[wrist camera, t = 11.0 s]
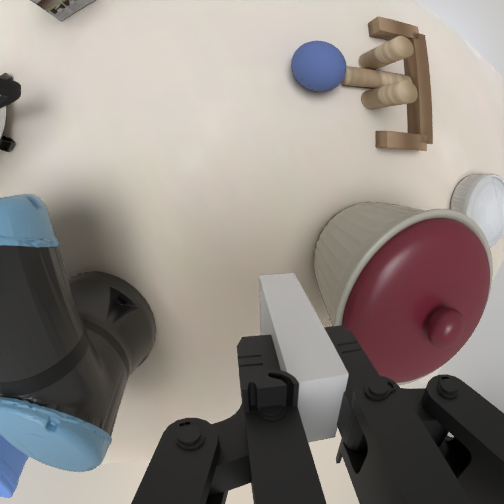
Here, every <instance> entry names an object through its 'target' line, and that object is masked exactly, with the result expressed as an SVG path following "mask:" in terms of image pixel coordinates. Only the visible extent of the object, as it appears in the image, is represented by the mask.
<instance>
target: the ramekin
mask: <svg viewBox="0 0 504 504" xmlns="http://www.w3.org/2000/svg"><path fill="white" fill-rule="evenodd" d="M451 210H454V211H457V212H460V213H462V214H464V215H466V216H468V217H469V218H471V219H472V220H473V221H474V222H475V223H476V224H477V225H478V226H479V227H480V228H481V230H482V231H483V233H484V235H485V237H486V239H487V241H488V244H489V247H492V246H494V245H495V244H496V243H497V242H498V241H499V240H500V239H501V238H502V236H503V235H504V180H503V179H502V178H501V177H500V176H498V175H495V174H484V175H470V176H467V177H465V178H464V179H463V180H462V181H461V182H460V183H459V184H458V185H457V187H456V188H455V190H454V193H453V196H452V200H451Z"/></svg>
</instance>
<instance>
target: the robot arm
mask: <svg viewBox="0 0 504 504" xmlns="http://www.w3.org/2000/svg"><path fill="white" fill-rule="evenodd" d="M58 246H59V241H58V240H57V239H56V238H55V234H54V231H53V228H52V225H51V221H50V218H49V214H48V211H47V208H46V206H45V204H44V202H43V201H42V200H41V199H40V198H39V197H37V196H35V195H31V194H23V195H15V196H9V197H4V198H0V434H1V435H2V436H3V437H4V438H5V439H6V440H7V441H8V442H9V443H10V444H12V445H13V446H14V447H16V448H17V449H18V450H20V451H21V452H23V453H24V454H26V455H28V456H30V457H32V458H33V459H35V460H37V461H39V462H42V463H44V464H46V465H49V466H52V467H55V468H58V469H62V470H67V471H74V472H84V471H89V470H93V469H94V468H96V467H97V466H99V465H100V464H101V463H102V461H103V459H104V457H105V454H106V452H107V449H108V447H109V445H110V444H111V441H112V438H111V435H112V431H113V427H114V424H115V420H116V417H117V413H118V410H119V406H120V403H121V399H122V396H123V393H124V389H125V386H126V383H127V380H128V377H129V375H130V374H131V373H132V372H133V371H134V370H135V369H136V368H137V367H138V366H139V365H141V364H142V363H143V362H144V361H145V359H146V358H147V356H148V355H149V353H150V351H151V348H152V345H153V341H154V338H155V321H154V317H153V314H152V312H151V309H150V307H149V305H148V304H147V302H146V301H145V299H144V298H143V297H142V296H141V294H140V293H139V292H138V291H137V290H136V289H135V288H133V287H132V286H131V285H130V284H128V283H127V282H125V281H124V280H122V279H120V278H118V277H115V276H113V275H110V274H106V273H101V272H87V273H83V274H80V275H77V276H75V277H73V278H72V279H71V280H69V281H68V279H67V276H66V273H65V269H64V266H63V263H62V259H61V256H60V252H59V248H58ZM259 294H260V327H261V334H262V335H260V336H249V337H242V338H241V340H240V342H239V344H238V345H237V353H238V365H239V377H240V387H241V397H242V404H241V407H240V409H239V410H238V411H237V412H236V414H234V415H233V416H232V417H230V418H228V419H226V420H224V421H221V422H218V423H214V424H210V423H209V422H207V421H205V420H202V419H199V418H185V419H181V420H177V421H175V422H174V423H172V424H171V425H169V426H168V427H167V429H166V430H165V431H164V433H163V435H162V437H161V439H160V441H159V444H158V446H157V448H156V450H155V452H154V455H153V457H152V459H151V462H150V463H149V466H148V468H147V470H146V472H145V475H144V477H143V479H142V481H141V483H140V486H139V488H138V490H137V492H136V494H135V497H134V499H133V501H132V503H131V504H225V501H226V498H227V494H228V491H229V490H231V489H234V488H237V487H240V486H243V485H245V484H248V483H251V485H252V493H253V500H254V504H326V501H325V497H324V494H323V491H322V487H321V484H320V481H319V477H318V474H317V470H316V467H315V464H314V460H313V457H312V454H311V451H310V447H309V444H308V442H312V441H317V440H323V439H328V438H333V437H335V434H336V431H337V427H338V429H339V431H340V434H341V437H342V439H341V443H340V446H339V450H338V453H337V457H336V463H340V461H341V458H342V456H343V459H344V462H345V465H346V467H347V470H348V473H349V475H350V478H351V481H352V484H353V486H354V489H355V492H356V495H357V497H358V500H359V503H360V504H504V413H502V412H501V411H500V410H498V409H497V408H496V407H495V406H494V405H492V404H491V403H490V402H489V401H487V400H486V399H485V398H483V397H482V396H481V395H480V394H478V393H477V392H476V391H475V390H473V389H472V388H471V387H469V386H468V385H467V384H465V383H464V382H462V380H460V379H458V378H456V377H454V376H450V375H438V376H435V377H433V378H432V379H431V380H430V381H429V382H428V384H427V387H426V388H425V389H404V388H400V387H399V385H398V384H397V383H396V382H395V381H394V380H391V379H389V378H387V377H384V376H380V375H379V374H378V372H377V370H376V369H375V367H374V366H373V364H372V363H371V361H370V359H369V358H368V356H367V355H366V353H365V352H364V350H362V347H361V345H360V344H359V343H358V341H357V339H356V338H355V336H354V335H353V333H352V332H351V331H349V330H348V329H346V328H345V327H343V326H342V325H339V326H332V327H323V325H322V323H321V321H320V319H319V317H318V315H317V314H316V312H315V310H314V308H313V306H312V304H311V303H310V301H309V299H308V297H307V295H306V293H305V292H304V290H303V288H302V286H301V284H300V283H299V281H298V279H297V277H296V275H295V274H294V273H283V274H271V275H259ZM448 432H450V433H451V434H452V435H453V436H454V437H453V438H452V437H449V436H448V435H447V434H448Z"/></svg>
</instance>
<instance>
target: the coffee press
mask: <svg viewBox="0 0 504 504" xmlns="http://www.w3.org/2000/svg"><path fill="white" fill-rule="evenodd" d="M20 96H21V85H20V84H19V83H17V82H15V81H12V77H11V76H10V75H9V74H7V73H4V74H2V75H1V76H0V149H1V150H4V151H7V152H10V151H11V149H12V147H13V145H14V143H15V141H14V140H12V139H11V138H8V137H6V136H4V135H2V133H3V130H4V126H5V120H6V106H7V105H9V104H11V103H12V102H14V101H16V100H17V99H19V97H20Z"/></svg>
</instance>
